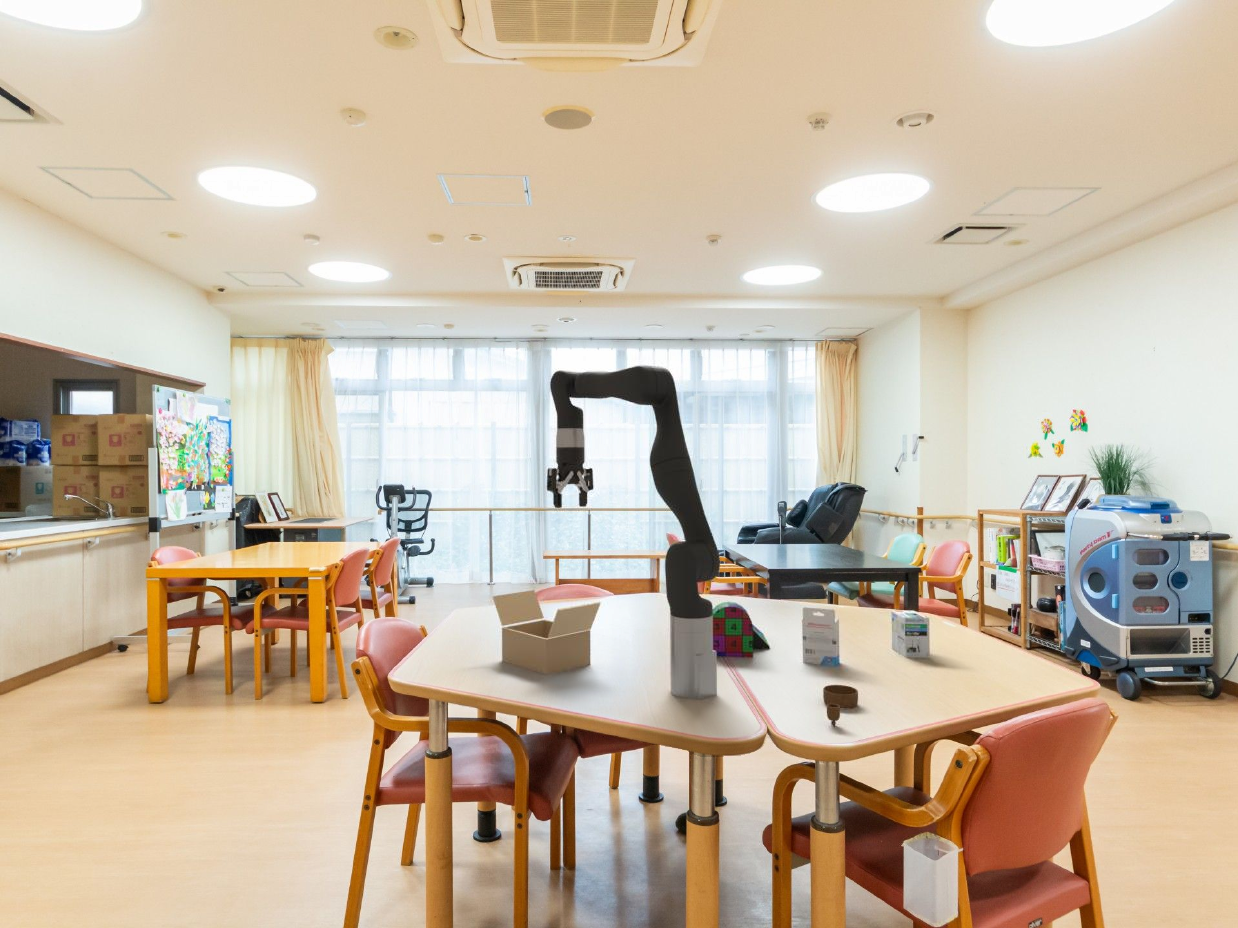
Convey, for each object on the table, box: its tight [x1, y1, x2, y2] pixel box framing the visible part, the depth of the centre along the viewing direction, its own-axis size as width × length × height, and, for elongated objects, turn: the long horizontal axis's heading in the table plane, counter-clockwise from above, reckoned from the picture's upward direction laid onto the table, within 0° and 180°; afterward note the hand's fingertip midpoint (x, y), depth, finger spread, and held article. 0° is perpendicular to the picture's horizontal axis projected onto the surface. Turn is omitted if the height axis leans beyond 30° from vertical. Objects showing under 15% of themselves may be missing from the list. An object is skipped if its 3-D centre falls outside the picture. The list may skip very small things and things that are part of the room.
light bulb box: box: [890, 609, 931, 659], centre depth 198 cm, size 11×7×11 cm, turn 179°
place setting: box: [822, 684, 859, 727], centre depth 150 cm, size 18×20×6 cm
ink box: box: [801, 606, 840, 667], centre depth 187 cm, size 9×5×15 cm, turn 62°
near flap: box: [548, 601, 601, 638], centre depth 177 cm, size 8×13×1 cm
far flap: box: [492, 589, 544, 627], centre depth 193 cm, size 8×13×1 cm
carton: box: [501, 619, 591, 675], centre depth 185 cm, size 18×14×10 cm
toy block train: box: [713, 601, 770, 658], centre depth 205 cm, size 25×17×14 cm
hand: (570, 507), depth 195 cm, fingers open, 8 cm apart
